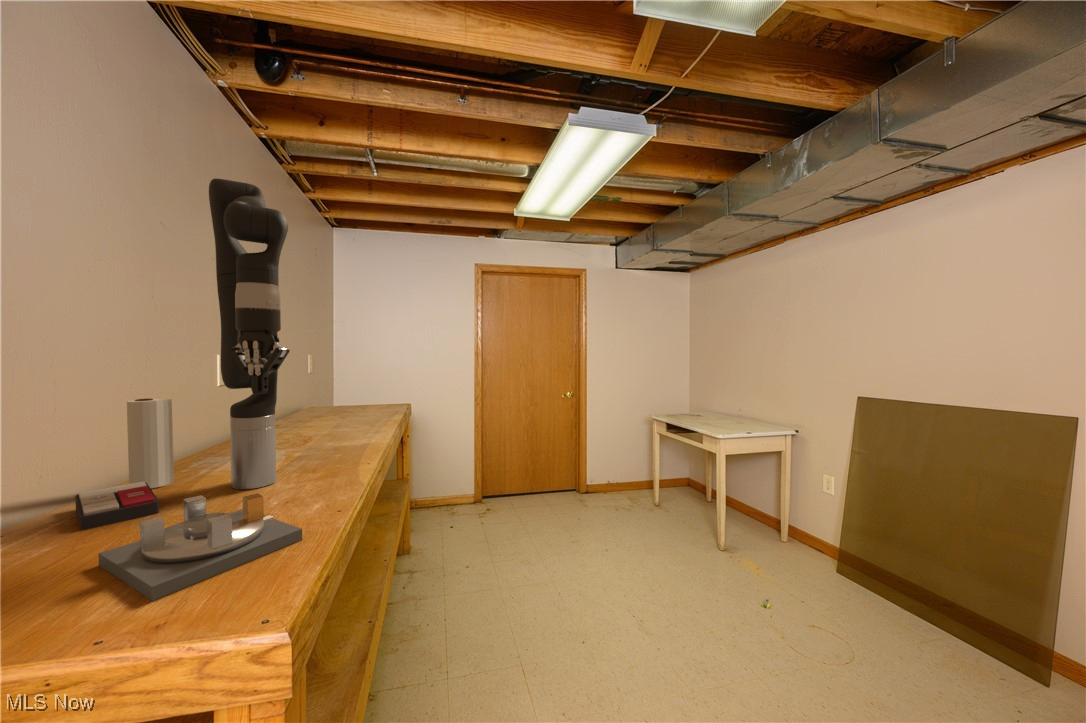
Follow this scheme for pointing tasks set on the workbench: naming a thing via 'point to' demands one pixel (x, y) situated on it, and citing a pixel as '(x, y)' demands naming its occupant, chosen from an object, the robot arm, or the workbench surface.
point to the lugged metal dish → (201, 531)
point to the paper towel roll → (150, 442)
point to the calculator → (115, 505)
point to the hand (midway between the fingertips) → (259, 393)
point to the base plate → (192, 561)
